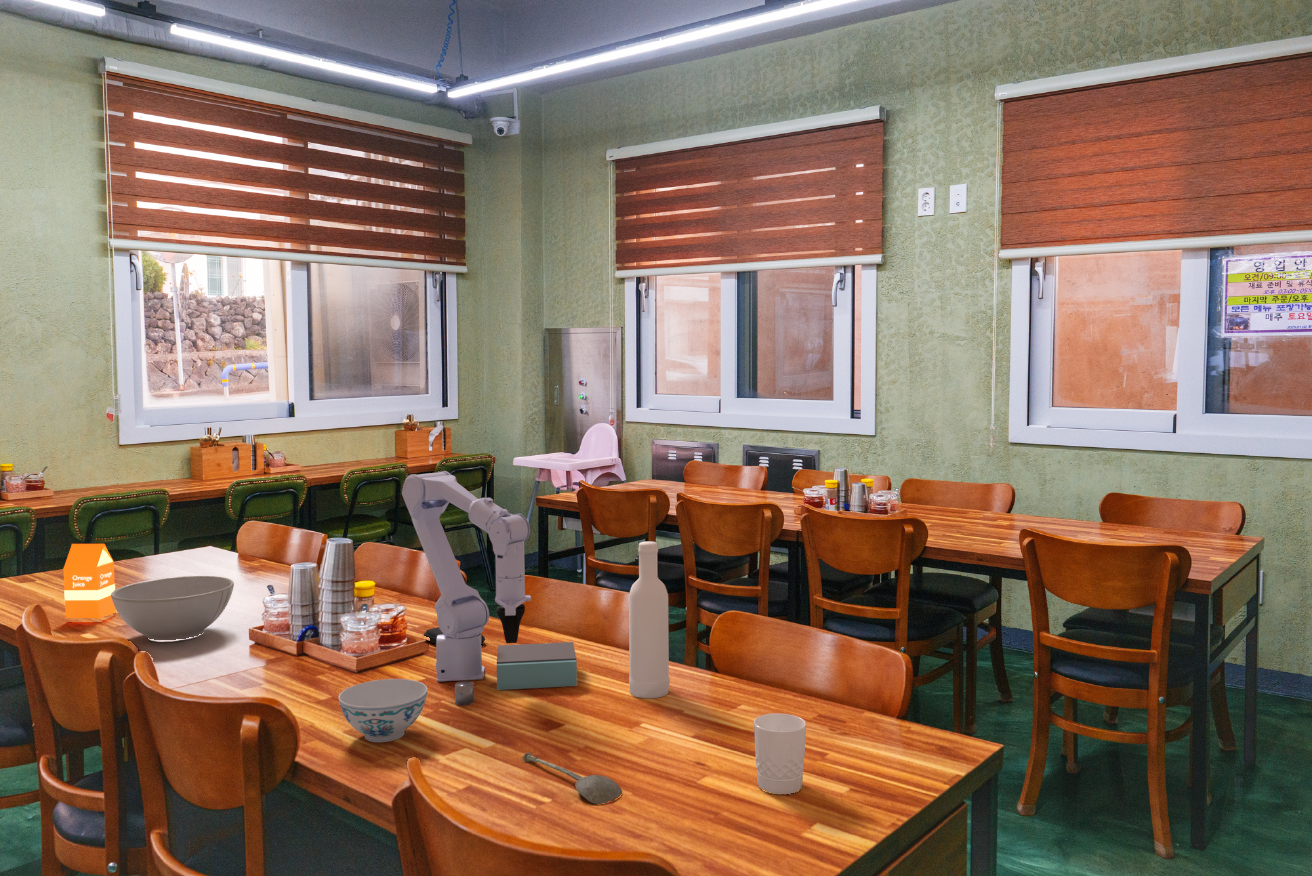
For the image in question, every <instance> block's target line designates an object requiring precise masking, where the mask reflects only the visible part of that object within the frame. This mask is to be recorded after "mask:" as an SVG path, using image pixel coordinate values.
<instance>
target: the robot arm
mask: <svg viewBox="0 0 1312 876" xmlns="http://www.w3.org/2000/svg"><path fill="white" fill-rule="evenodd" d="M401 495H402V497H403V500H404V503H405V506H406V508H407V510H408V513H409V515H410V517H411V521H412V524H413V527H414V529H415V532H416V535H417V536H418V539H419V542H420V544H421V547H422V549H423V552H424V554H425V557H426V560H427V562H428V564H429V567H430V569H431V572H432V574H433V577H434V579H435V583H436V584H437V587H438V589H439V593H440V596H439V598H438V600H437V601H436V603H435V605H434V609H435V611H436V617H437V625H438V626H437V627H439V628H440V630H441V631H442V633H443V635H437V641H436V644H435V646H436V647H435V648H436V649H435V653H436V655H435V657H436V661H435V670H436V682H452V681H453V682H454V681H455V682H456V681H474V680H483V679H484V676H485V670H486V669H485V665H483V659H482V658H483V656H482V655H483V653H482V645H483V644H482V645H481V634H482V632H484V631H485V627H486V625H488V623H489V620H490V610H489V607H488V605H487V603H486V602H485V600H484V599H482V597H481V596H480V594H479V591H478V590H477V589H475V588H473V587H472V586H469V585H467V584H466V582H465V580H464V577H463V575H462V573H461V570H460V568H459V565H458V562H457V559H456V557H455V555H454V552H453V549H452V547H451V545H450V543H449V540H448V538H447V536H446V532H445V530H444V528H443V526H442V522H441V521H440V520H441V519H440V517H441V515H442V514H444V513H445V511H446V510H447V508H448V505H449V504H451V505H454V506H455V507H457V508H458V509H461V510H462V511H463V512H466V513H468V514H467V515H468V520H469V521H470V522H471V523H472V524H474V525H475V526H477V527H478V528H479V529H481V530H483V531H484V532H486V533H487V535H488V537H489V540H490V542H491V545H492V551H493V553H494V555H495V598H494V600H495V603H496V604H498V605H499V606H497V607H496V614H497V616H498V618H499V620H500V623H501V626H502V630H503V637H504V640H505V643H506V644H518V643H517V642H518V639H519V633H520V627H521V621H522V618H523V617H524V615H525V612H526V605H525V604H524V603H525V602H529V601H531V600H532V596H531V595H526V583H525V582H526V580H525V579H526V577H525V574H526V573H525V569H526V568H525V542H526V541H528V539H529V537H530V535H531V534H530V533H531V527H530V522H529V521H528V519H527V517H525V516H524V515H523V514H522V513H514V514H513V513H510V512H509V510H507V509H506V508H502V507H501V506H499V505H497V504H496V503H494V499H492V498H491V497H481V498H478V497H476V496H475V495H474V494H472V493H471V492H470V491H468V490H467V489H466V488H465V487H464V486H462V485H461V484H460V483H458V481H457V478H456V476H455V475H454V474H453V475H452V473H450V472H448V471H446V470H443V471H439V472H432V473H430V472H429V473H422V474H421V473H420V474H415V473H414V474H412V473H411V474H409V475H407V477H406V478H405V480H404V482H403V486H402V491H401Z"/></svg>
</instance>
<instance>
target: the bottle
mask: <svg viewBox="0 0 1312 876" xmlns="http://www.w3.org/2000/svg"><path fill="white" fill-rule="evenodd" d="M637 551H638V574H639V575H638V579H637V580H636V581H635V582H633V584H632V585H631V588H630V590H629V593H628V636H629V637H628V641H629V643H628V645H629V646H628V647H629V649H628V650H629V652H628V653H629V656H628V657H629V661H628V662H629V664H628V665H629V675H628V676H629V677H628V685H629V694H631V695H632V696H634V697H636V698H639V699H647V698H649V699H651V698H652V699H659V698H662V697H665V696H667V695H668V693H669V691H670V675H669V673H670V671H669V670H670V669H669V668H670V667H669V666H670V664H669V663H670V662H669V658H670V657H669V656H670V655H669V654H670V652H669V643H670V641H669V593H668V590H667V587H666V585H665V583H663V581H661V579H659V577H658V552H659V548H658V543H657V542H656V541H652V540H651V541H642V542H639V543H638V550H637Z"/></svg>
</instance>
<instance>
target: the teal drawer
mask: <svg viewBox="0 0 1312 876" xmlns="http://www.w3.org/2000/svg"><path fill="white" fill-rule="evenodd" d="M577 662H578V661H577V659H576V660H568V661H547V662H527V663H506V664H497V663H496V691H501V690H504V691H505V690H518V689H519V690H522V689H524V690H525V689H539V688H541V689H542V688H558V687H559V688H560V687H577V686H578V663H577Z"/></svg>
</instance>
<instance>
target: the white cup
mask: <svg viewBox="0 0 1312 876" xmlns="http://www.w3.org/2000/svg"><path fill="white" fill-rule="evenodd" d="M753 728H754V732H753V733H754V751H755V767H756V777H757V778H756V779H757V786H758V785H759V786H758V788H759V787H760V788H762V789H763V790H765V791H767V792H771V793H774V794H789V795H791V794H790V793H794V794H796V793H798V792H799V791H798V790H800V789H802V788H801V787H803V779H804V778H803V777H804V776H803V775H804V767H805V755H806V754H805V753H806V737H807V736H806V733H807V732H806V730H807V722H806V720H805V719H803V718H802V717H800V716H797V715H793V714H789V713H788V714H787V713H777V712H776V713H774V712H773V713H767V714H762V715H759V716H757V717H756V718H754V720H753ZM760 788H759V789H760ZM763 790H762V791H763ZM797 791H798V792H797ZM800 791H801V790H800ZM767 792H766V793H767ZM795 792H796V793H795ZM774 794H773V795H774Z"/></svg>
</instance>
